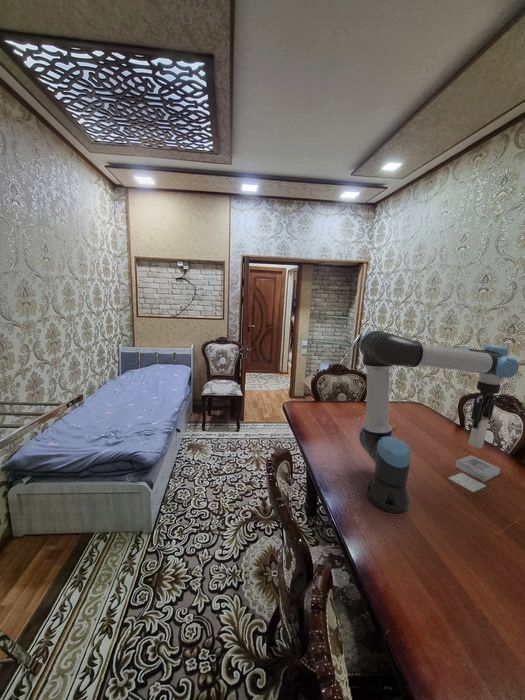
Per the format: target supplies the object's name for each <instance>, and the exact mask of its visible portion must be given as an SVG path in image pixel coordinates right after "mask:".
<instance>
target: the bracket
mask: <svg viewBox="0 0 525 700" xmlns="http://www.w3.org/2000/svg"><path fill="white" fill-rule="evenodd" d="M388 423H389V424H390V425H391V427H392V432H393V431H396V430H397V424H396V423H394V422H391V421H388Z"/></svg>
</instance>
